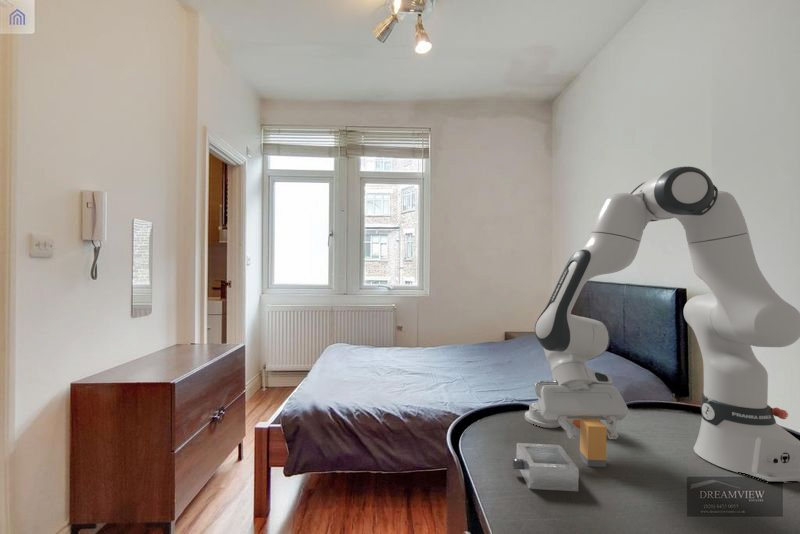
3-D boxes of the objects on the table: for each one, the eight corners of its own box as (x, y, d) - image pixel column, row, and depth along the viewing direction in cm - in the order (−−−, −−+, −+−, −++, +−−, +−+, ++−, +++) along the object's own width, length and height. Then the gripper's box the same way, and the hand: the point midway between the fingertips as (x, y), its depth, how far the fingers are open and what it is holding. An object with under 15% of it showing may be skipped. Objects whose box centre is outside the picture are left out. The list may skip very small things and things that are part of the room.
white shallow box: (559, 464, 81) (560, 444, 81) (578, 491, 71) (578, 468, 71) (507, 462, 82) (507, 442, 82) (518, 488, 72) (519, 465, 72)
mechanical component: (527, 426, 101) (565, 431, 99) (527, 411, 101) (565, 415, 99) (522, 412, 111) (557, 416, 109) (523, 398, 111) (558, 402, 109)
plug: (597, 457, 85) (597, 419, 85) (605, 467, 81) (606, 426, 81) (579, 456, 85) (580, 418, 85) (587, 466, 81) (588, 426, 81)
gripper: (536, 374, 90) (553, 432, 80) (617, 376, 90) (643, 433, 80) (529, 386, 94) (544, 442, 84) (606, 387, 95) (629, 443, 85)
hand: (593, 437), depth 82 cm, fingers open, 8 cm apart
